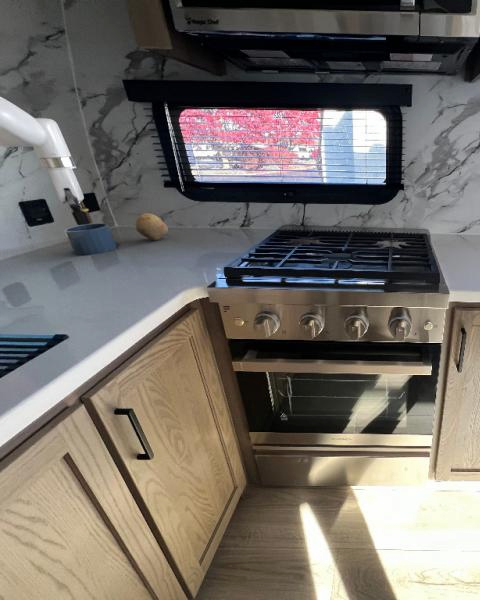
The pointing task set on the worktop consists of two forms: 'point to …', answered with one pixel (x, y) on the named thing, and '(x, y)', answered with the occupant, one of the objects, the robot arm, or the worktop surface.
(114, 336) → the worktop surface
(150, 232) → the potato
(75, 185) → the robot arm
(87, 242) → the canister
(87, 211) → the coffee pod
